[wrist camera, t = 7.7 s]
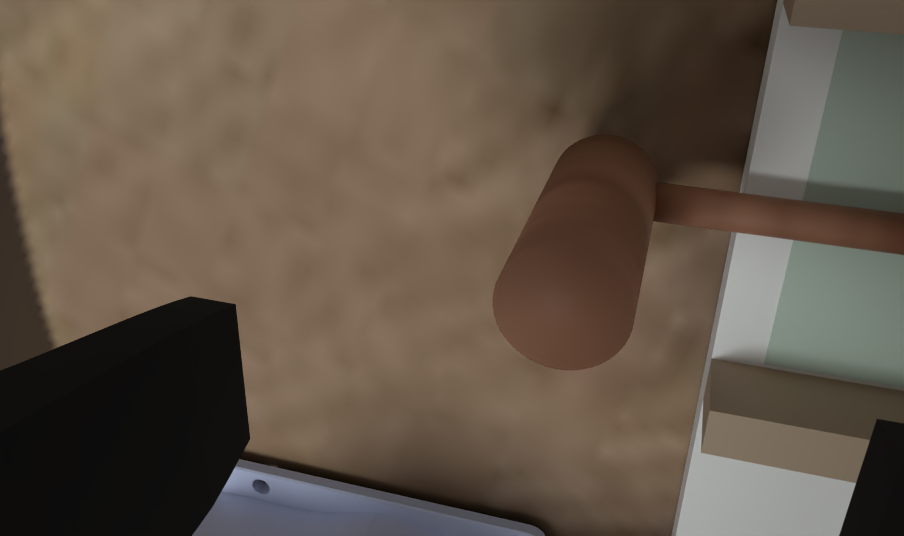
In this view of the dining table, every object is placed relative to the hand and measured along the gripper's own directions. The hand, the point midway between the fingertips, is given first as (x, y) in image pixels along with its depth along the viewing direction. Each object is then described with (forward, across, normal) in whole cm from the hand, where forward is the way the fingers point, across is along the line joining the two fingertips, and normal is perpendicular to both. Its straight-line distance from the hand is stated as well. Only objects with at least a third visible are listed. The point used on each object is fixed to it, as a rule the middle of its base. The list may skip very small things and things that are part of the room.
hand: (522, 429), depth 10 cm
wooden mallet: (+8, -6, 0) cm, 9 cm away
